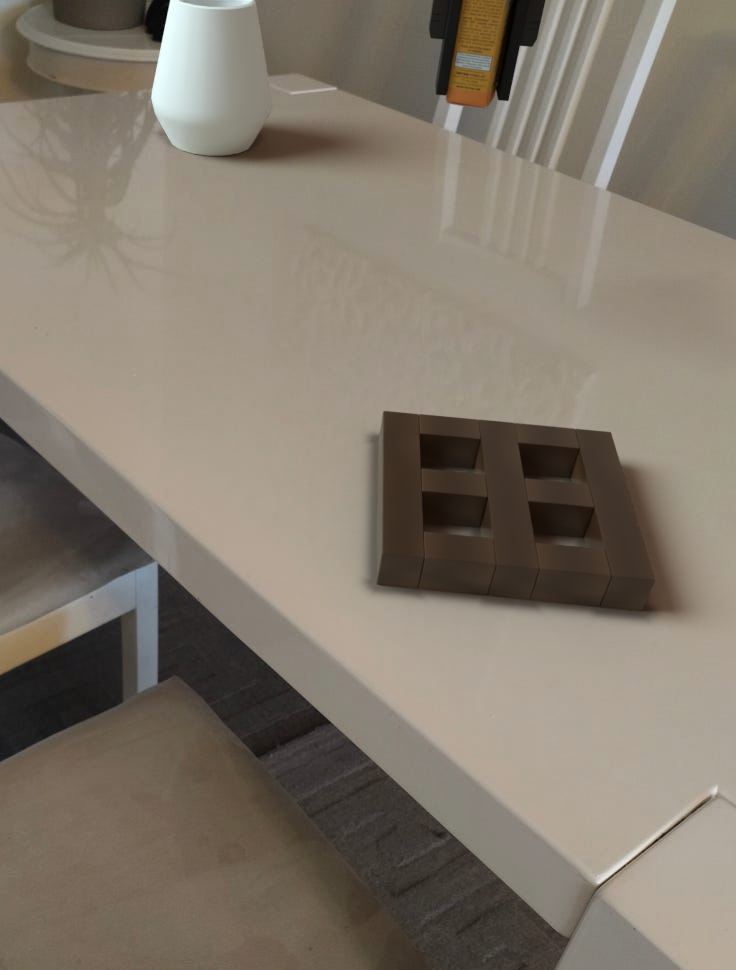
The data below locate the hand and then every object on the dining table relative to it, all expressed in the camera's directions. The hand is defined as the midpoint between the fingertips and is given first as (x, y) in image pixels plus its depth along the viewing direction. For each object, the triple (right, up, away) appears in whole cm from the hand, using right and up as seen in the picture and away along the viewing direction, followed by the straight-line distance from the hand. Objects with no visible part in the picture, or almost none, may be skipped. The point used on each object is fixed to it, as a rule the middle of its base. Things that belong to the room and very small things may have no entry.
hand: (471, 91), depth 72 cm
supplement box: (0, -1, +1) cm, 1 cm away
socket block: (-1, -33, -10) cm, 35 cm away
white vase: (-21, +16, +39) cm, 47 cm away
